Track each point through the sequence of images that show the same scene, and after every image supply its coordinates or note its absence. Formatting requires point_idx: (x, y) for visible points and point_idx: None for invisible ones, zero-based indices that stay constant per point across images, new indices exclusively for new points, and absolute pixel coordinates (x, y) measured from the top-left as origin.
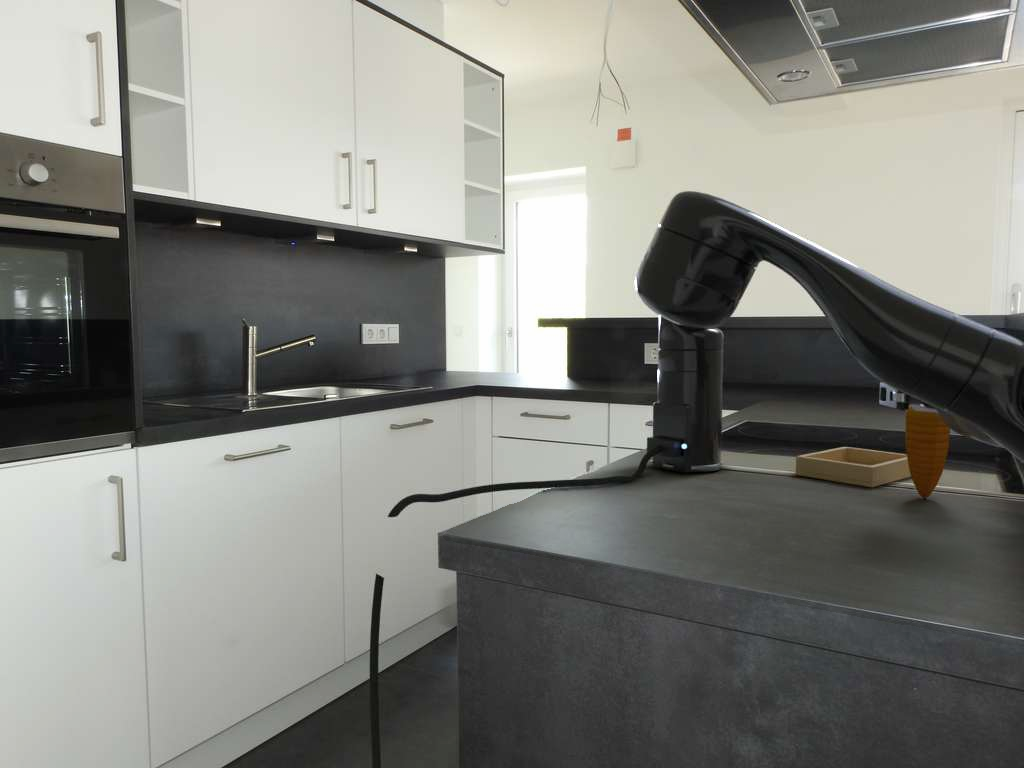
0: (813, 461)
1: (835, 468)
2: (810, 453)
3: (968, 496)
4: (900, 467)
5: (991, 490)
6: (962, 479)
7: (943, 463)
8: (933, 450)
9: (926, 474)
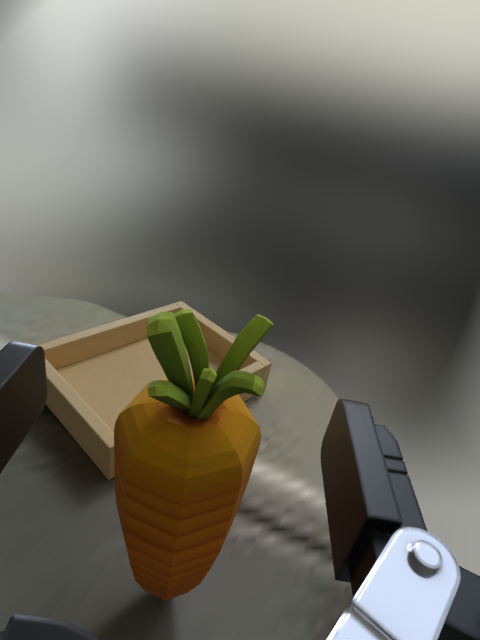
0: None
1: (64, 408)
2: (74, 334)
3: (285, 560)
4: None
5: None
6: (326, 421)
7: (203, 573)
8: (165, 563)
9: (152, 588)
